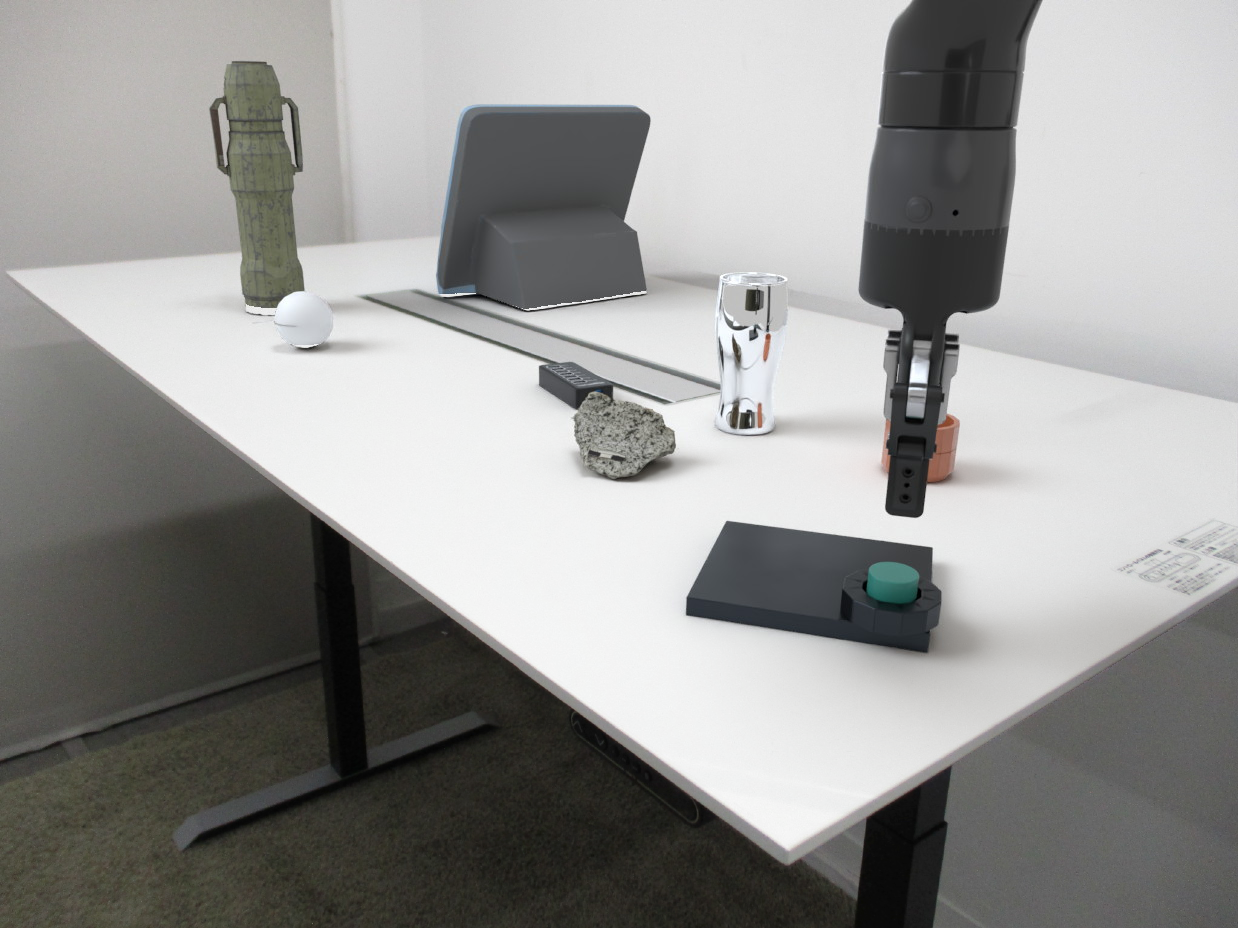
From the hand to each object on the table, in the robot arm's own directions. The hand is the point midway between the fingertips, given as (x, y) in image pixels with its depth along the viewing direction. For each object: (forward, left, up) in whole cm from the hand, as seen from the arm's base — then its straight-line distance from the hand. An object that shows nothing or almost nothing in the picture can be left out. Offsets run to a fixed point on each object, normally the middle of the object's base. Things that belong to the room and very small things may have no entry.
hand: (903, 511), depth 60 cm
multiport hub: (+36, -43, -8) cm, 57 cm away
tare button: (0, 0, -6) cm, 6 cm away
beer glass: (+16, -38, -8) cm, 43 cm away
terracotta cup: (-1, -30, -8) cm, 32 cm away
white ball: (+77, -51, -8) cm, 93 cm away
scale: (+5, -4, -8) cm, 11 cm away
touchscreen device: (+59, -98, -8) cm, 115 cm away
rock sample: (+24, -23, -8) cm, 35 cm away
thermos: (+94, -71, -8) cm, 119 cm away
